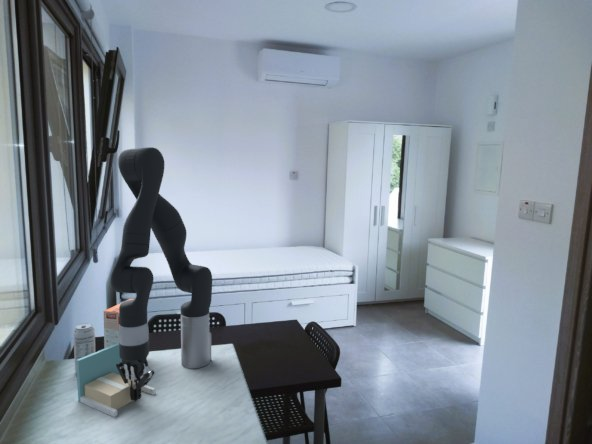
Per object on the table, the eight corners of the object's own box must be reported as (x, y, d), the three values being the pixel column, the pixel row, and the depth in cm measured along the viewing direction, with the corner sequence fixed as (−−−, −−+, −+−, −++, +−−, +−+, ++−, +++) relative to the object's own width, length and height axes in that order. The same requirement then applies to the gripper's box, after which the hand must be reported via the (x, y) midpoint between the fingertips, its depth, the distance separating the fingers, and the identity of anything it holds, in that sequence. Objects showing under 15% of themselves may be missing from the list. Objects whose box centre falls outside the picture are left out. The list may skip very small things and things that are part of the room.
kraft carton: (112, 388, 128) (112, 371, 127) (138, 398, 123) (138, 381, 122) (85, 401, 120) (84, 384, 120) (111, 413, 115) (110, 395, 114)
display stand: (120, 380, 132) (119, 342, 131) (155, 393, 125) (154, 353, 123) (78, 401, 120) (76, 359, 118) (114, 417, 113) (112, 373, 111)
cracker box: (121, 377, 134) (119, 312, 131) (104, 375, 135) (101, 310, 132) (146, 358, 147) (145, 299, 145) (131, 356, 149) (129, 297, 146)
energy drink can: (97, 366, 141) (95, 321, 139) (94, 374, 135) (92, 328, 133) (77, 368, 139) (75, 323, 137) (73, 376, 133) (71, 330, 132)
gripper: (162, 339, 117) (163, 399, 119) (128, 329, 123) (130, 387, 125) (140, 349, 110) (141, 413, 112) (105, 338, 116) (108, 398, 119)
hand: (135, 399), depth 119 cm, fingers closed
